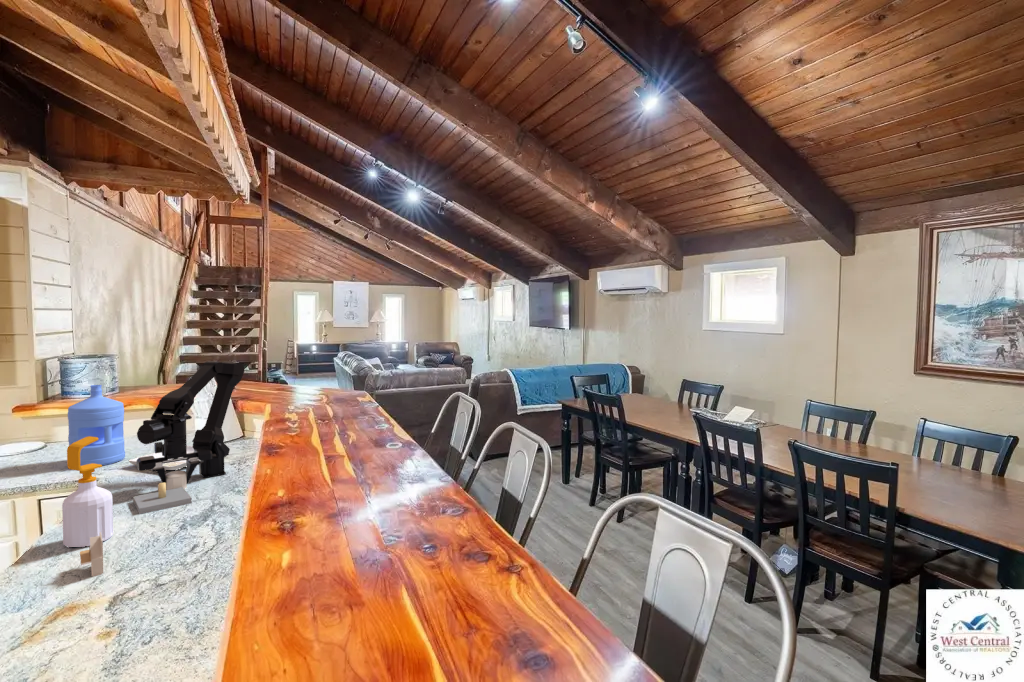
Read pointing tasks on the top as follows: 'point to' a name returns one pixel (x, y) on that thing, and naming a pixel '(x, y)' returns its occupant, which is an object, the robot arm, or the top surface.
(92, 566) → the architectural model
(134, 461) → the salad plate
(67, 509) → the soap bottle
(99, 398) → the water jug
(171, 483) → the cap
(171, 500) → the post base
